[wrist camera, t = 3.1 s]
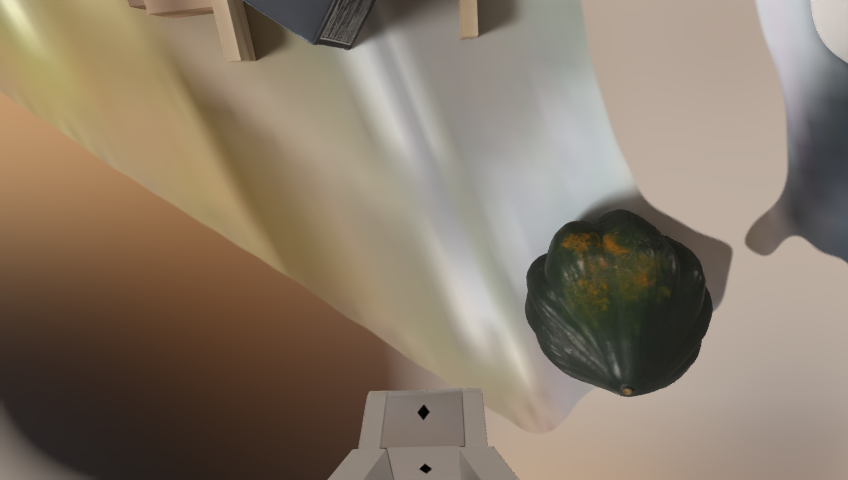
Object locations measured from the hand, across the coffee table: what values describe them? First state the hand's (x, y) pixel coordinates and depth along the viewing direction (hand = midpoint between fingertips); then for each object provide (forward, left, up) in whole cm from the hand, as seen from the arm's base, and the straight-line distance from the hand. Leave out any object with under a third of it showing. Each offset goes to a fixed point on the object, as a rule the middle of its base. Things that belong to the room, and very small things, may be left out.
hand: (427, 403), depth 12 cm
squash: (-14, +12, -30) cm, 35 cm away
